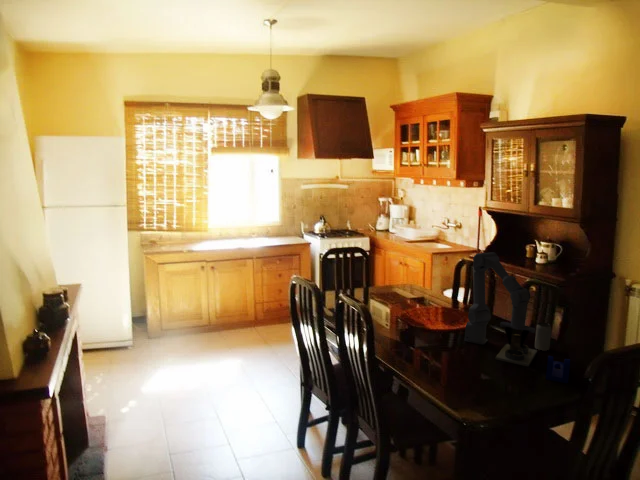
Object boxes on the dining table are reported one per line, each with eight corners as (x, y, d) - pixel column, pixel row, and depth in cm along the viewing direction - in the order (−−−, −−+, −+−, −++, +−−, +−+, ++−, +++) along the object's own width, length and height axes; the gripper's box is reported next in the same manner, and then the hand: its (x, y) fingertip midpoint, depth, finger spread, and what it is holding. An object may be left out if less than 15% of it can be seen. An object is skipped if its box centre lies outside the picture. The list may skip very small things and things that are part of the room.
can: (550, 351, 247) (553, 327, 245) (535, 350, 248) (538, 326, 246) (547, 346, 253) (550, 322, 251) (533, 345, 255) (535, 321, 252)
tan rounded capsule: (509, 348, 236) (510, 335, 235) (511, 345, 240) (513, 333, 239) (519, 351, 234) (520, 337, 233) (521, 348, 237) (523, 335, 236)
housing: (495, 359, 237) (496, 352, 236) (506, 345, 253) (506, 339, 253) (528, 366, 230) (529, 360, 229) (537, 352, 246) (537, 346, 246)
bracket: (567, 384, 214) (570, 362, 212) (545, 379, 217) (547, 359, 216) (568, 367, 230) (570, 347, 228) (547, 364, 233) (549, 344, 232)
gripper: (499, 315, 235) (496, 344, 237) (534, 321, 227) (531, 351, 229) (503, 311, 240) (500, 339, 243) (537, 317, 233) (534, 346, 235)
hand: (515, 345), depth 237 cm, fingers closed on tan rounded capsule, 4 cm apart
